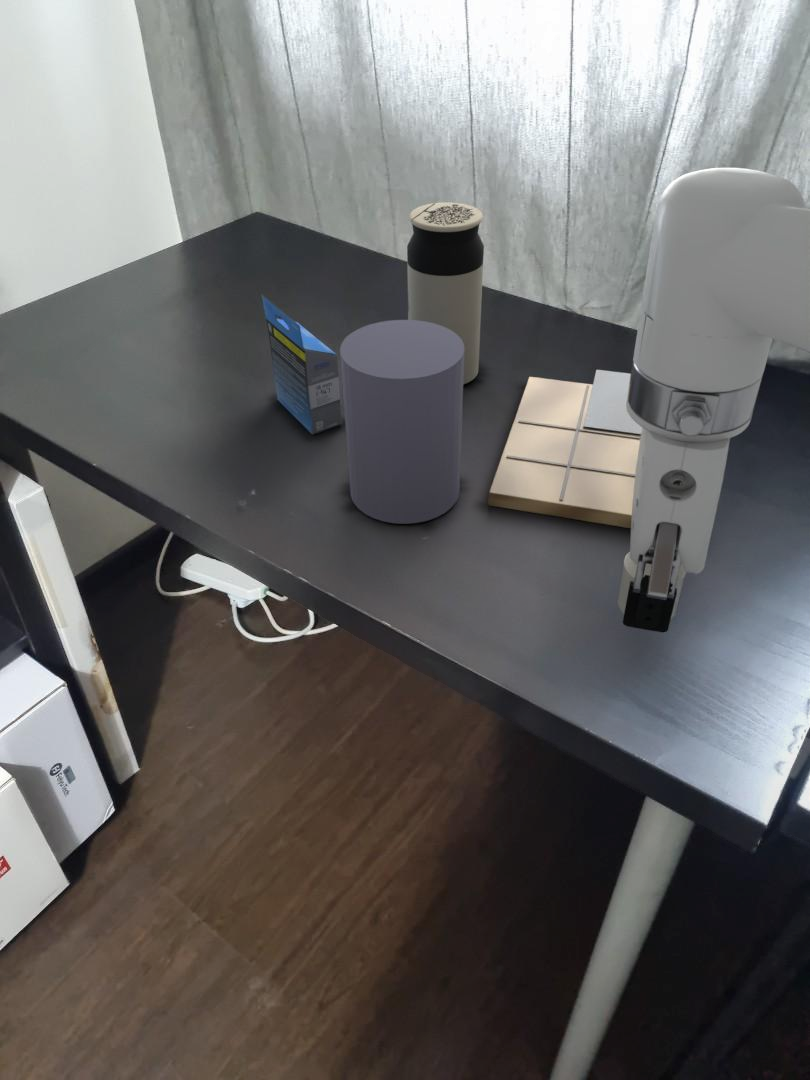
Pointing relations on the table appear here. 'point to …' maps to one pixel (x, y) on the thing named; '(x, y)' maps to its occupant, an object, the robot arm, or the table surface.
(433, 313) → the travel mug
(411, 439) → the container
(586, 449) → the board
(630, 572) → the white squat cylinder
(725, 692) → the table surface
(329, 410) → the blue product box
